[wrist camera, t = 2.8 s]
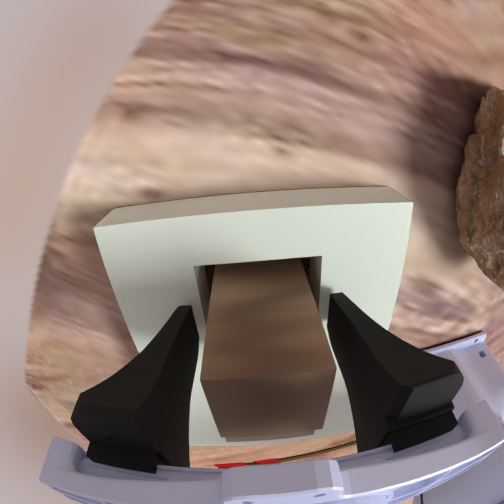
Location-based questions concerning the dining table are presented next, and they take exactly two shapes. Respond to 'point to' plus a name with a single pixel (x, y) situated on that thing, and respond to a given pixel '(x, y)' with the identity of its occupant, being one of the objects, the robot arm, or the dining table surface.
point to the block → (265, 351)
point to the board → (256, 249)
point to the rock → (484, 189)
